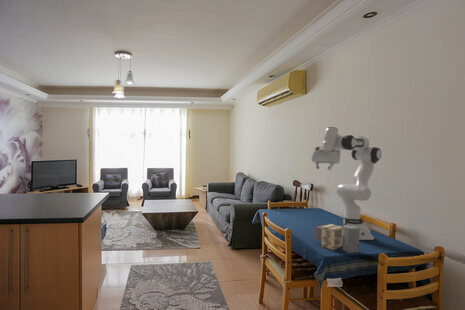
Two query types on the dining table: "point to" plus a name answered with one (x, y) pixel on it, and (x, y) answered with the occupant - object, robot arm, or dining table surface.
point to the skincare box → (351, 239)
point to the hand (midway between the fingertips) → (323, 169)
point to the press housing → (331, 236)
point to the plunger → (319, 232)
